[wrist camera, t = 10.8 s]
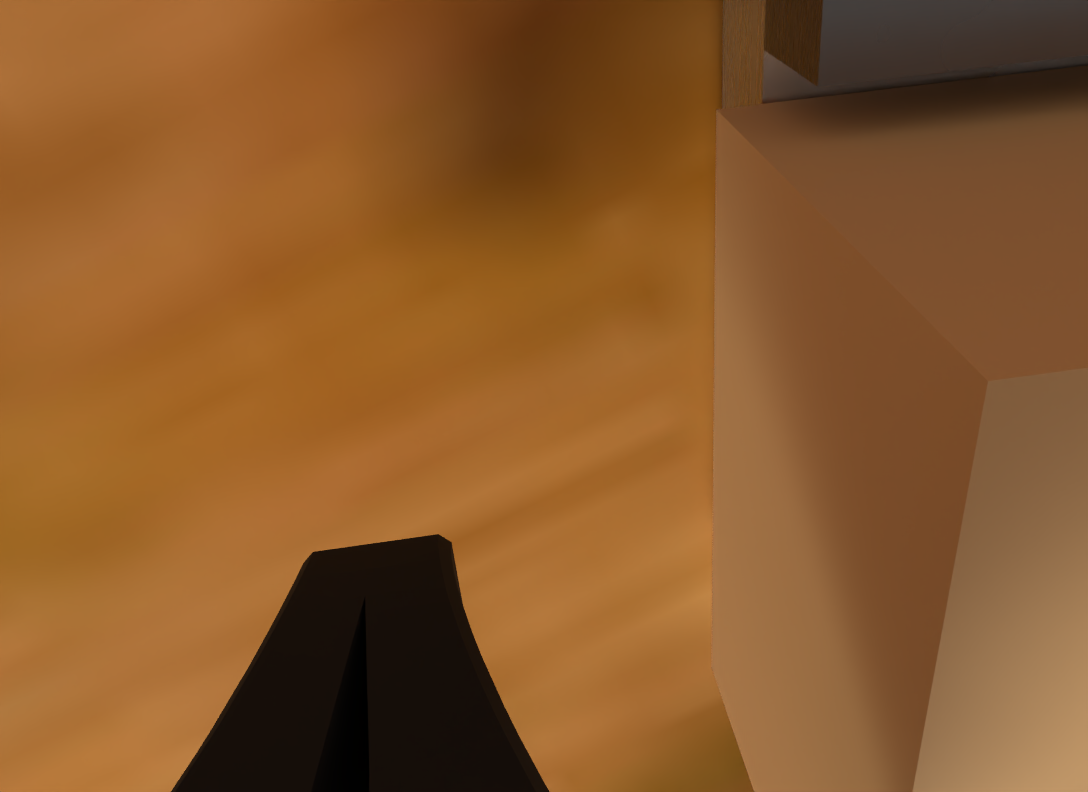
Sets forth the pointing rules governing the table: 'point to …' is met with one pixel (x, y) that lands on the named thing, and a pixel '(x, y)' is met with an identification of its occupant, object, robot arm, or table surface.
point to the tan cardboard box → (904, 437)
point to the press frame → (890, 44)
